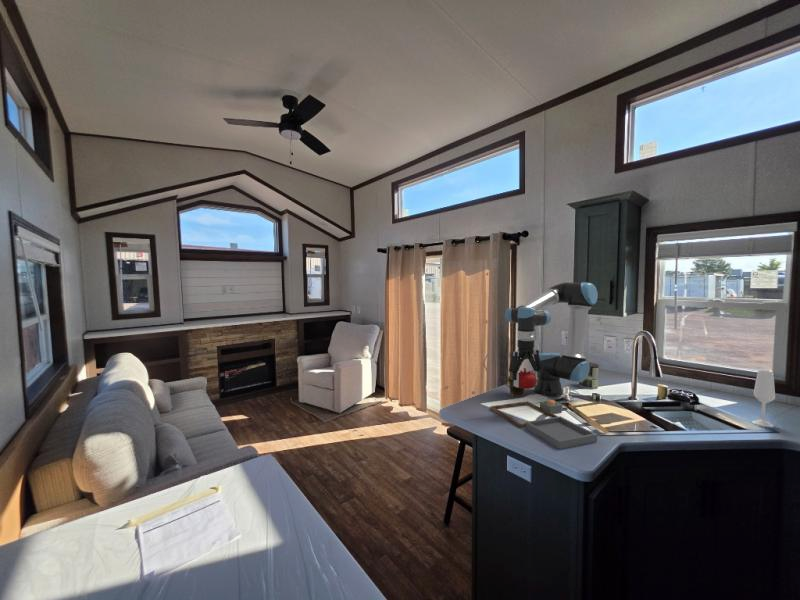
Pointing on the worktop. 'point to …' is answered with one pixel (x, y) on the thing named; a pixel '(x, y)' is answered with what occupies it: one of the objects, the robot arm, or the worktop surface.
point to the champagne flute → (764, 393)
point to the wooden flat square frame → (523, 425)
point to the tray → (561, 432)
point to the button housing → (551, 407)
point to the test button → (550, 402)
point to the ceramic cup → (514, 388)
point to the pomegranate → (527, 379)
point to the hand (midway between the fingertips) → (525, 385)
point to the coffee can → (591, 377)
